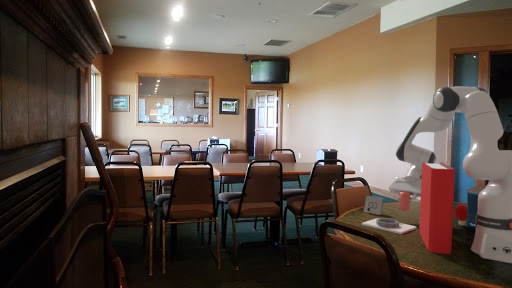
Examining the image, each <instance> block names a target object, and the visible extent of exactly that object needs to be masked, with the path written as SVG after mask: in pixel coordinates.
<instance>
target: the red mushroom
mask: <svg viewBox="0 0 512 288" xmlns="http://www.w3.org/2000/svg"><path fill="white" fill-rule="evenodd" d="M453 217H454V218H455V219H456V220H458V225H459V226H461V227H463V226H465V225H466V221H468V220H467V204H463V203H461V204H458V205H456V207H455V209H454V210H453Z"/></svg>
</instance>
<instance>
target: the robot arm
mask: <svg viewBox="0 0 512 288" xmlns="http://www.w3.org/2000/svg"><path fill="white" fill-rule="evenodd" d="M455 113H460V114H461V113H462V114H464V118H465V122H466V126H467V129H468V133H469V136H470V147H469V151H468V153H467V154H466V155H465V156H464V158H463V160H462V169H463V172H464V174H466V176H468V177H469V178H472V179H476V180H480V181H488V183H487V185H486V186H485V188H484V189H482V190H481V191H479V193H478V196H477V213H476V214H475V219H474V225H475V233H474V237H473V242H472V244H471V248H470V250H471V252H473V253H475V254H477V255H479V257H481V258H483V259H487V260H493V261H497V262H503V263H506V264H507V263H508V264H512V149H511V150H509V149H507V150H506V149H504V150H502V149H501V150H500V149H499V148H498V142H499V141H498V140H500V138H502V136H503V134H504V129H503V124H502V121H501V117H500V116H499V112H498V109H497V108H496V106H495V103H494V101H493V100H492V98H491V96H490V94H489V93H488V91H487V90H486V89H485V88H483V87H480V86H461V85H460V86H459V85H458V86H456V85H455V86H445V87H444V86H443V87H439V88H438V89H437V90H436V91H435V92H434V94H433V97H432V101H431V103H430V105H429V108H428V110H427V112H426V114H424V115H423V116H420V117H418V118H417V119H416V120H415V121H414V123H413V124H412V125H411V127H410V129H409V130H408V132H407V133H406V134H405V137H404V139H403V140H402V142H401V143H400V144H399V145H398V147H397V148H396V150H395V156H396V158H397V160H398V161H401V162H402V163H403V162H404V163H406V164H407V163H408V164H410V165H409V169H407V171H406V173H405V175H404V177H399V176H398V177H395V178H393V179H392V181H391V183H390V184H389V186H388V190H389V192H390V193H391V194H392V193H393V194H396V197H395V199H396V201H399V194H400V192H409V193H410V198H409V202H410V203H413V202H414V200H416V199H417V198H421V176H422V162H424V163H429V164H435V162H436V160H437V157H436V153H435V152H434V151H432V150H430V149H427V148H425V147H421V146H419V145H416V144H413V141H414V140H415V138H416V137H417V135H418V134H420V133H439V132H440V133H441V132H443V131H446V129H448V128H449V126H450V125H451V123H452V121H453V119H454V117H455V115H456V114H455Z"/></svg>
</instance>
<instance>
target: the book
mask: <svg viewBox="0 0 512 288" xmlns="http://www.w3.org/2000/svg"><path fill="white" fill-rule="evenodd" d="M455 170H456V169H455V168H454V167H452V166H450V165H448V164H446V163H444V162H443V161H441V162H439V163H434V164H429V163H424V162H422V176H421V197H420V206H419V207H420V209H419V235H420V236H421V239H422V241H423V244H424V245H425V247H426V249H427V251H428V252H430V253H436V254H445V255H449V254H452V245H453V238H452V237H453V220H454V199H455V198H454V197H455V196H454V195H455V193H454V192H455V176H456V175H455V174H456V173H455Z"/></svg>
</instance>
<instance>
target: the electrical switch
mask: <svg viewBox="0 0 512 288" xmlns="http://www.w3.org/2000/svg"><path fill="white" fill-rule="evenodd" d="M383 206H384V198H383V197H379V196H373V195H371V196H370V195H366V197H365V202H364V209H363V212H364V213H365V214H370V213H371V215H376V216H381V215H382V214H383Z"/></svg>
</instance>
